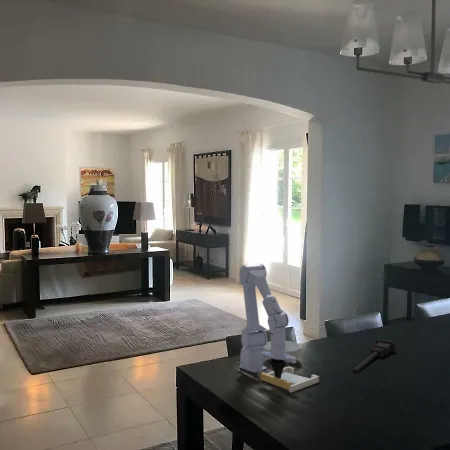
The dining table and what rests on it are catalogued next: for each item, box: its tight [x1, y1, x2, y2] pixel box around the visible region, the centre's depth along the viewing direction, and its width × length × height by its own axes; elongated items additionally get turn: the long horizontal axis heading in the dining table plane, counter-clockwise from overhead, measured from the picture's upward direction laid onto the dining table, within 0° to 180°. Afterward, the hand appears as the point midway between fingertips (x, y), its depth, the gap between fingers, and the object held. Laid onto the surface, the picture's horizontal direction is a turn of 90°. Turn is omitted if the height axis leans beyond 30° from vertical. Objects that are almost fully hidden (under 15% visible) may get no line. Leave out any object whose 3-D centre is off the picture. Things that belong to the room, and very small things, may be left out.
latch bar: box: [256, 370, 291, 391], centre depth 197 cm, size 17×2×3 cm, turn 40°
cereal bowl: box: [263, 340, 302, 364], centre depth 225 cm, size 17×17×7 cm
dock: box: [255, 365, 320, 393], centre depth 201 cm, size 19×17×2 cm
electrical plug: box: [352, 339, 396, 374], centre depth 226 cm, size 9×42×5 cm, turn 144°
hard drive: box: [280, 372, 310, 385], centre depth 202 cm, size 2×8×12 cm
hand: (278, 378), depth 199 cm, fingers closed
